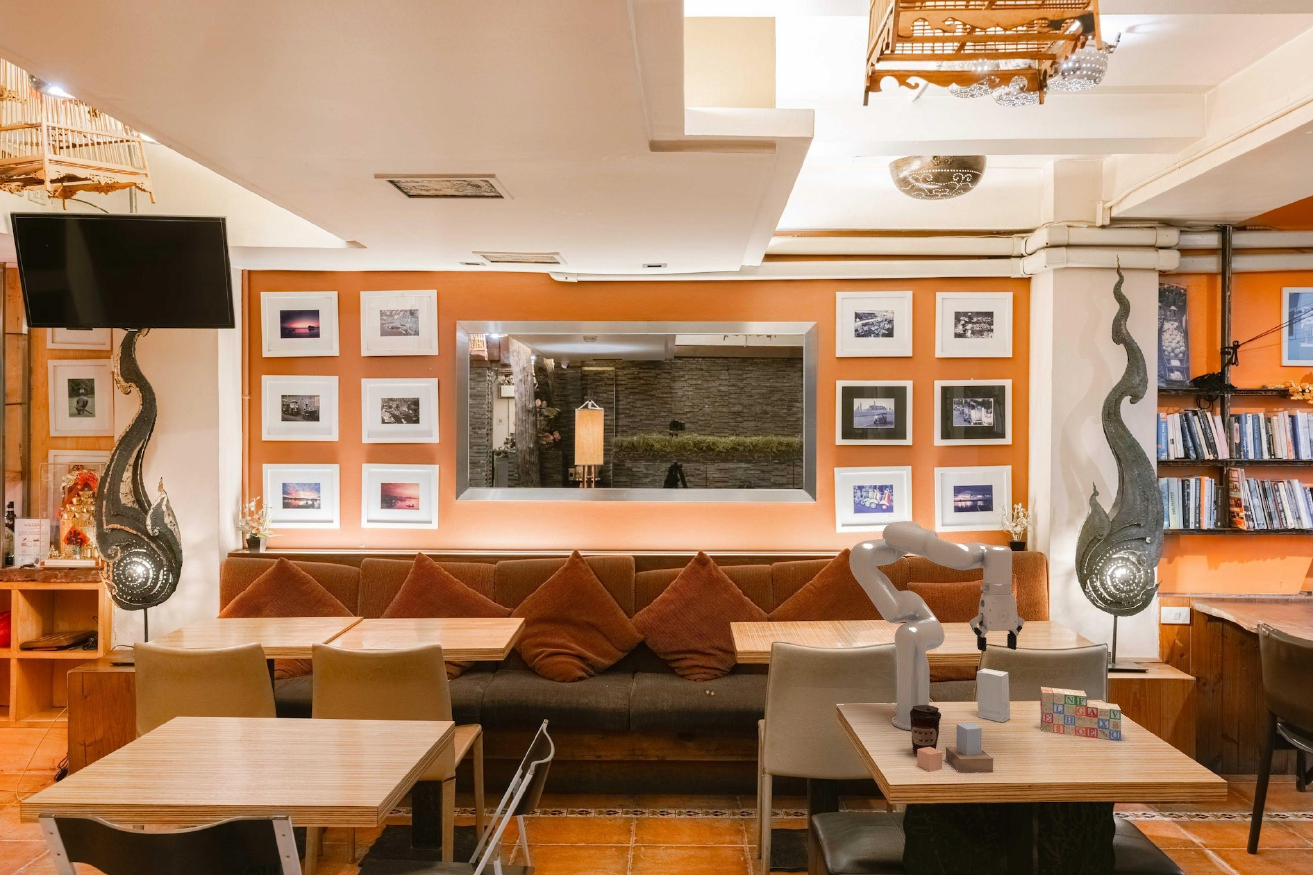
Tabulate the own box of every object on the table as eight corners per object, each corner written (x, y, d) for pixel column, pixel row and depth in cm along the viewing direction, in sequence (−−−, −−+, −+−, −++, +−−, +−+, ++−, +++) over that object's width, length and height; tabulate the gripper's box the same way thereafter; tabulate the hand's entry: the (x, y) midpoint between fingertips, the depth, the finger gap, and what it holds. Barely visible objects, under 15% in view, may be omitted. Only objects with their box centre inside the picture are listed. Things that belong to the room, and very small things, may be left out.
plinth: (945, 761, 231) (945, 746, 231) (977, 760, 232) (977, 746, 232) (960, 774, 222) (960, 758, 222) (993, 773, 223) (993, 758, 223)
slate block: (956, 750, 229) (956, 724, 229) (970, 748, 230) (970, 722, 230) (966, 755, 224) (967, 729, 224) (981, 754, 226) (981, 728, 226)
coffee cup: (940, 762, 229) (940, 714, 229) (908, 757, 232) (908, 710, 232) (941, 751, 237) (941, 705, 238) (910, 747, 240) (910, 701, 240)
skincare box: (1010, 719, 267) (1010, 672, 267) (1002, 723, 263) (1002, 675, 263) (984, 713, 273) (984, 667, 273) (976, 717, 269) (976, 670, 269)
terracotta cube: (917, 765, 226) (917, 749, 227) (929, 763, 229) (929, 746, 229) (929, 771, 223) (930, 754, 223) (942, 768, 225) (942, 751, 225)
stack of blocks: (1117, 735, 254) (1118, 694, 254) (1121, 741, 248) (1121, 699, 248) (1040, 725, 262) (1040, 685, 262) (1041, 732, 256) (1041, 691, 256)
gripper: (978, 592, 234) (978, 654, 234) (1032, 590, 239) (1032, 651, 238) (962, 587, 242) (962, 647, 241) (1015, 586, 246) (1014, 645, 246)
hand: (996, 649), depth 240 cm, fingers open, 9 cm apart
